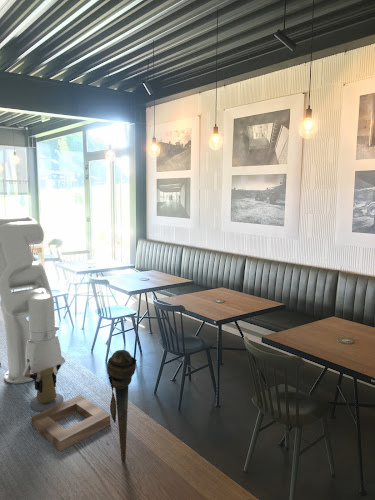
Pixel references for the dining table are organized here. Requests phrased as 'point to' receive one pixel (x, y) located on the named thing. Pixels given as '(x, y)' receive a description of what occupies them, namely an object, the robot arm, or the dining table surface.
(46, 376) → the cork
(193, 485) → the dining table surface
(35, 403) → the coaster
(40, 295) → the robot arm
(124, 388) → the decorative torch
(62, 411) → the square frame
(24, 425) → the dining table surface
